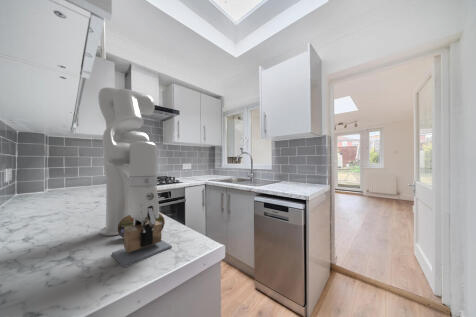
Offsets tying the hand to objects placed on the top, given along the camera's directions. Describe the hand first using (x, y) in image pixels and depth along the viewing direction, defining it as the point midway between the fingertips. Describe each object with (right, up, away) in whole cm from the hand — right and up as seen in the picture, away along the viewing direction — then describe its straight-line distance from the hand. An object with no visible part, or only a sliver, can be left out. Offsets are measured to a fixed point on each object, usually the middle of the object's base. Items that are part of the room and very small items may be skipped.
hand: (142, 242), depth 51 cm
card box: (0, -1, 0) cm, 1 cm away
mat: (0, -3, 0) cm, 3 cm away
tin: (-6, -4, +11) cm, 13 cm away
